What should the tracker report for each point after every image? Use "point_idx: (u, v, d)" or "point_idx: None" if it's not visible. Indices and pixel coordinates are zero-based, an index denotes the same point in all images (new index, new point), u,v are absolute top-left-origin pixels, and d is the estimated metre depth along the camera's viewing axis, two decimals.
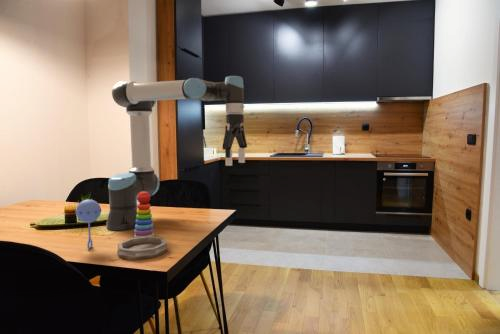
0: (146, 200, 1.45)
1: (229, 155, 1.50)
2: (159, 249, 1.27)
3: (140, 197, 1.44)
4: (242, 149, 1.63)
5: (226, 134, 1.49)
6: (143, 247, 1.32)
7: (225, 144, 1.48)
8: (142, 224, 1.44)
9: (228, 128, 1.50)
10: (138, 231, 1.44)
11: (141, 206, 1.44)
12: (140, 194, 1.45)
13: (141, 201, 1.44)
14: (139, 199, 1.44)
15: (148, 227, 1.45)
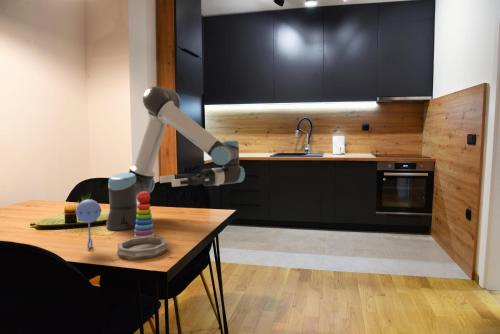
0: (146, 200, 1.45)
1: (183, 184, 1.47)
2: (159, 249, 1.27)
3: (140, 197, 1.44)
4: (173, 179, 1.59)
5: (202, 179, 1.51)
6: (143, 247, 1.32)
7: (195, 181, 1.48)
8: (142, 224, 1.44)
9: (206, 180, 1.53)
10: (138, 231, 1.44)
11: (141, 206, 1.44)
12: (140, 194, 1.45)
13: (141, 201, 1.44)
14: (139, 199, 1.44)
15: (148, 227, 1.45)
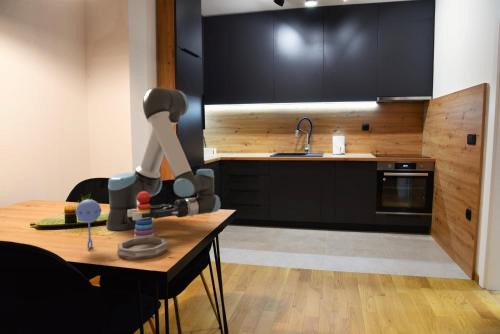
0: (146, 200, 1.45)
1: (144, 217, 1.43)
2: (159, 249, 1.27)
3: (140, 197, 1.44)
4: None
5: (168, 212, 1.46)
6: (143, 247, 1.32)
7: (157, 215, 1.43)
8: (142, 224, 1.44)
9: (174, 213, 1.47)
10: (138, 231, 1.44)
11: (141, 206, 1.44)
12: (140, 194, 1.44)
13: (141, 201, 1.44)
14: (139, 199, 1.44)
15: (148, 227, 1.45)
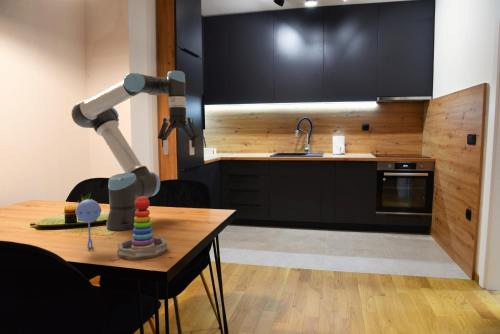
0: (145, 206, 1.28)
1: (163, 145, 1.68)
2: (159, 249, 1.27)
3: (138, 203, 1.27)
4: None
5: None
6: None
7: None
8: (140, 233, 1.27)
9: None
10: (136, 241, 1.27)
11: (139, 213, 1.28)
12: (138, 199, 1.28)
13: (139, 207, 1.28)
14: (137, 205, 1.27)
15: (147, 237, 1.28)
